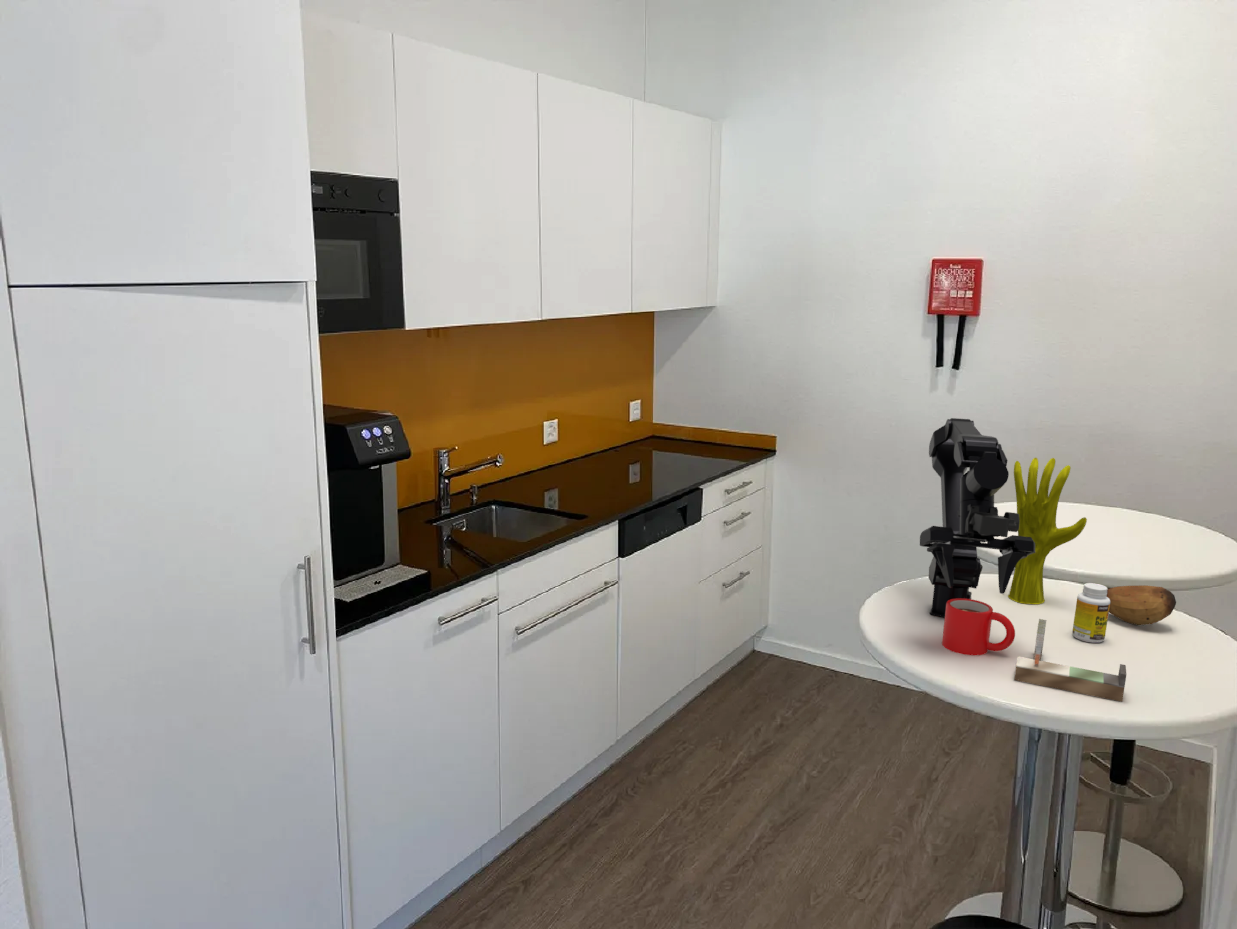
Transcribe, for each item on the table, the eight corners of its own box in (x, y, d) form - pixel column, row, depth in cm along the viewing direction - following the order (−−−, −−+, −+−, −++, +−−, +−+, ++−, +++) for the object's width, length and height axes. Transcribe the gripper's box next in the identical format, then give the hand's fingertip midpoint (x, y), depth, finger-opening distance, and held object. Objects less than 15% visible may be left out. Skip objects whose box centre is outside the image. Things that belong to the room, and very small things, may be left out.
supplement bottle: (1093, 646, 175) (1101, 592, 173) (1065, 636, 179) (1072, 584, 177) (1110, 640, 178) (1118, 588, 176) (1082, 630, 182) (1089, 579, 180)
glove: (992, 596, 200) (1009, 456, 194) (1005, 587, 207) (1022, 451, 201) (1067, 614, 191) (1087, 468, 185) (1078, 605, 197) (1098, 462, 191)
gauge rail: (1014, 680, 158) (1017, 654, 157) (1016, 670, 162) (1019, 645, 161) (1122, 701, 152) (1126, 674, 151) (1121, 691, 156) (1125, 665, 155)
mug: (1009, 664, 165) (1014, 621, 163) (938, 649, 171) (942, 607, 169) (1015, 649, 172) (1020, 608, 170) (946, 635, 177) (950, 595, 176)
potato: (1101, 633, 190) (1104, 602, 195) (1179, 634, 182) (1180, 602, 188) (1094, 608, 187) (1097, 578, 192) (1173, 609, 179) (1174, 576, 184)
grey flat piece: (1030, 679, 158) (1034, 644, 157) (1034, 650, 171) (1039, 618, 170) (1038, 680, 158) (1042, 646, 157) (1042, 652, 170) (1046, 620, 169)
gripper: (943, 487, 163) (941, 577, 159) (1050, 499, 163) (1051, 590, 159) (919, 501, 174) (917, 586, 169) (1020, 513, 174) (1020, 598, 170)
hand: (976, 590), depth 167 cm, fingers open, 9 cm apart
